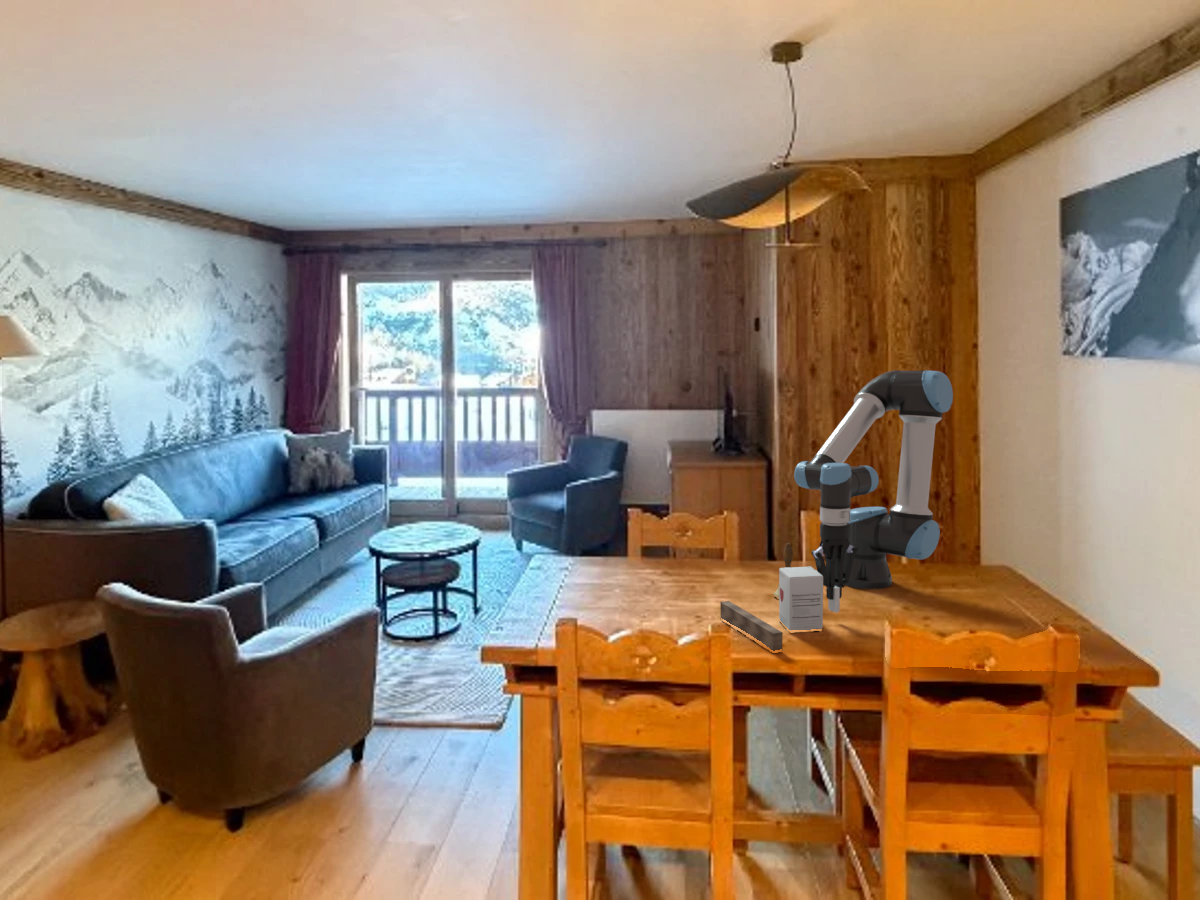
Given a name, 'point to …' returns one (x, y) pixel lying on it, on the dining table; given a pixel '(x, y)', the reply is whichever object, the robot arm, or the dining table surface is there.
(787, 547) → the hand bell
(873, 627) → the dining table surface
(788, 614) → the supplement box
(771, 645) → the board
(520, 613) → the dining table surface
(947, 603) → the dining table surface
